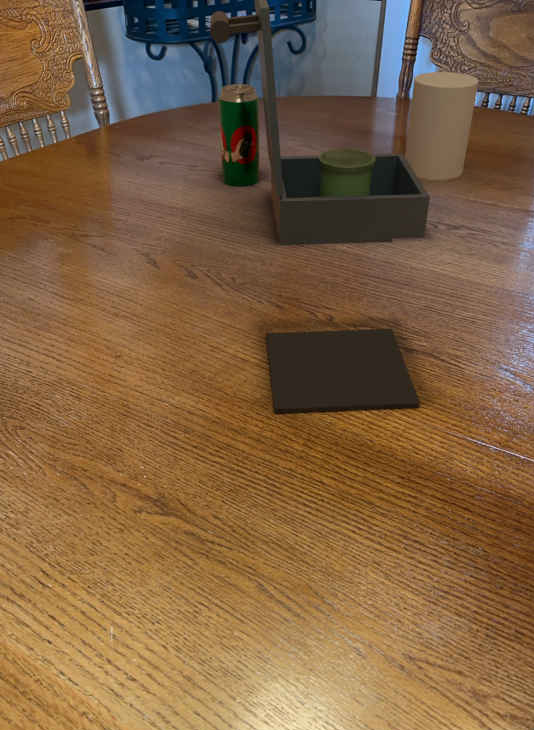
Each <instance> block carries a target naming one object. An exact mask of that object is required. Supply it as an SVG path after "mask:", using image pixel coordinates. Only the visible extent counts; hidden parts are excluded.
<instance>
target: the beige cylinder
mask: <svg viewBox="0 0 534 730" xmlns="http://www.w3.org/2000/svg"><path fill="white" fill-rule="evenodd" d="M478 85H479V79H478V78H477V77H474V76H473V75H469V74H465V73H460V72H450V71H431V72H424V73H420V74H417V75H416V76H415V77H414V79H413V87H412V96H411V104H410V112H409V120H408V129H407V136H406V137H407V138H406V145H405V153H404V154H405V155H404V156H405V158H406V160H407V161H408V163H409V164H410V166H411V168H412V169H413V171H414V172H415V174H416V176H417V177H418V179H422V180H430V181H446V180H452V179H455V178H458V177H460V176H461V175H462V174H463V172H464V167H465V165H464V164H465V161H466V155H467V150H468V143H469V139H470V131H471V126H472V120H473V114H474V108H475V104H476V97H477V92H478Z"/></svg>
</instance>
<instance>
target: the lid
mask: <svg viewBox="0 0 534 730" xmlns="http://www.w3.org/2000/svg"><path fill="white" fill-rule="evenodd" d="M254 9H255V10H254V11H255V14H248V15H239V16H232V17H231V16H230V17H229V16H228V14H227V13H226V12H224V11H222V10H217V11H215V12H214V13H212V14H211V17H210V19H209V34H210V36H211V37H210V38H212V40H213V41H214V42H215V43H217V44H224V43H226V42H227V41H228V40H229V38H230V36H231V35H235V34H245V33H252V32H257V42H258V43H257V45H258V55H259V66H260V77H261V88H262V99H263V112H264V123H265V134H266V145H267V147H266V148H267V155H268V160H269V165H270V171H272V176H273V181H274V187H275V192H276V196H277V197H279V196H283V195H284V194H283V181H282V168H281V157H282V156H281V144H280V143H281V141H280V131H279V129H280V128H279V118H278V104H277V92H276V79H275V67H274V53H273V39H272V27H271V13H270V12H271V11H270V6H269V4H268V1H267V0H254Z"/></svg>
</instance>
